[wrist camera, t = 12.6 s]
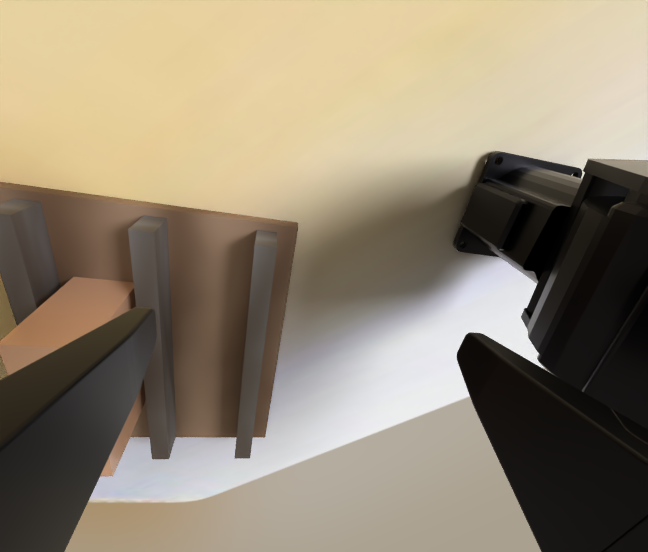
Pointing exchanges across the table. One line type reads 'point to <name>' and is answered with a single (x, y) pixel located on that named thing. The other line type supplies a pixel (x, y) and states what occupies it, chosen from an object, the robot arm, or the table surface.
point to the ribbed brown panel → (166, 298)
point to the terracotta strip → (73, 334)
